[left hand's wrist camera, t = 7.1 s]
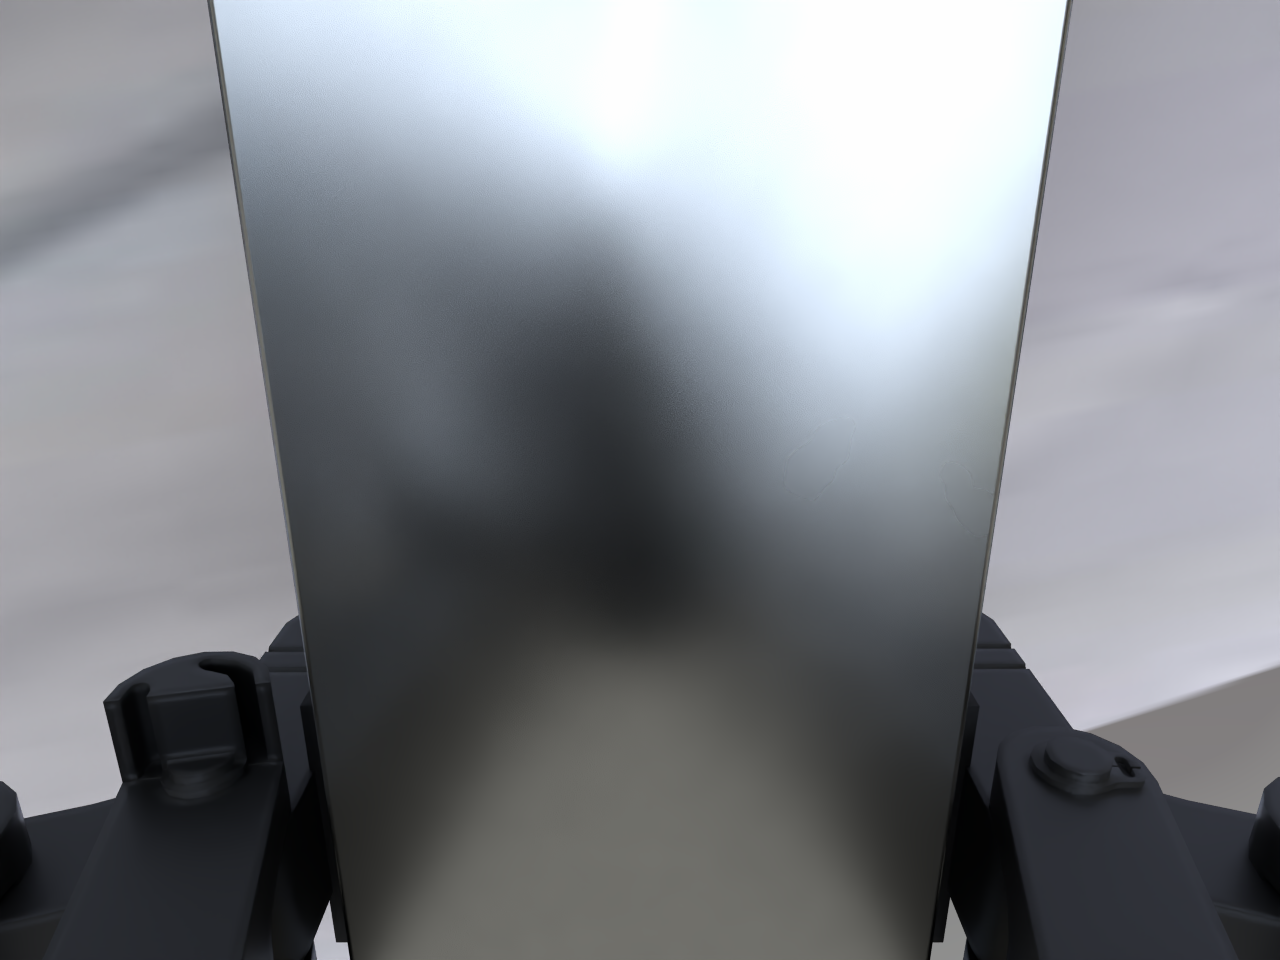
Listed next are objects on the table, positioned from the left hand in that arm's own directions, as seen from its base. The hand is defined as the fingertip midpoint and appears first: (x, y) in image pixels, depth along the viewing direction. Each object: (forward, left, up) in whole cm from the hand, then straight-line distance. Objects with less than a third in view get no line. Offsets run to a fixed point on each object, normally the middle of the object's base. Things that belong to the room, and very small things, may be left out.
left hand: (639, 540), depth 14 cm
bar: (-7, +4, -1) cm, 8 cm away
